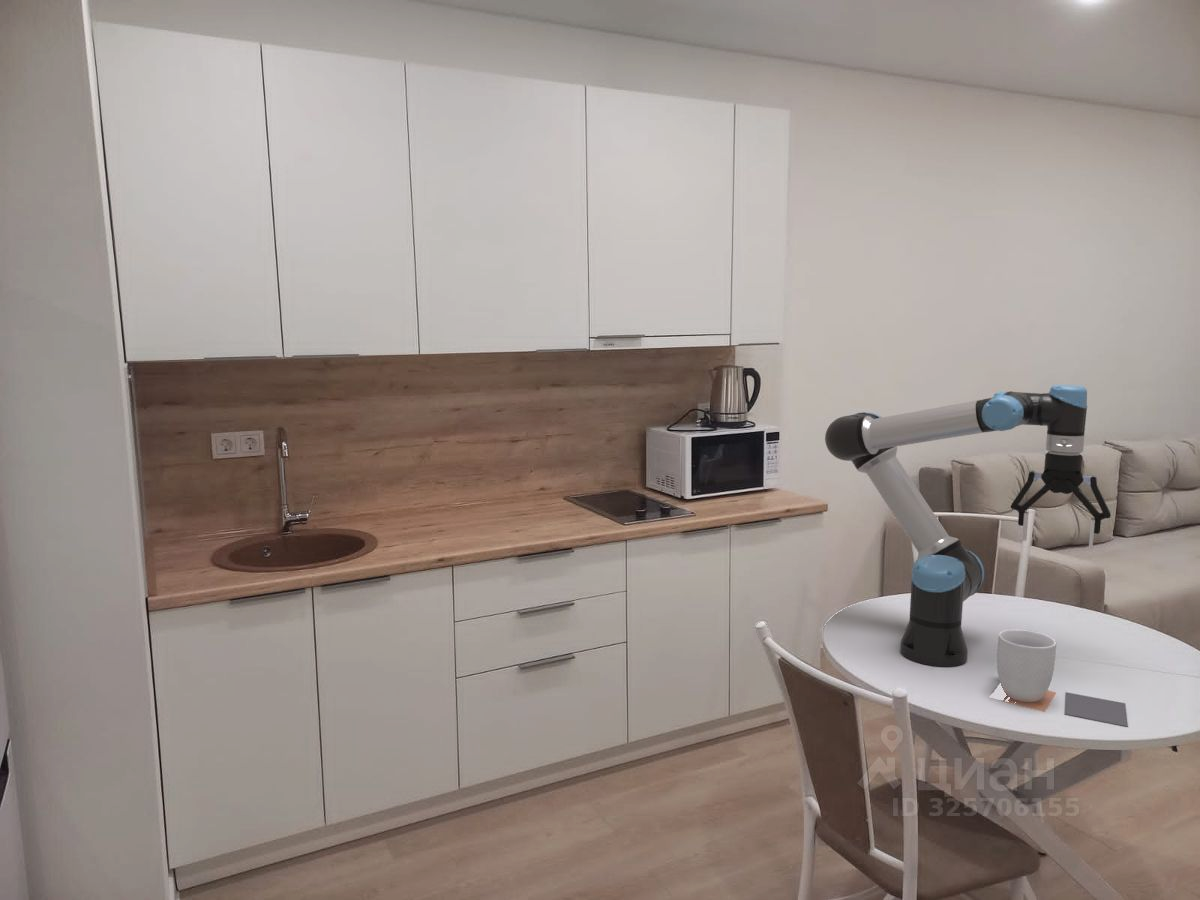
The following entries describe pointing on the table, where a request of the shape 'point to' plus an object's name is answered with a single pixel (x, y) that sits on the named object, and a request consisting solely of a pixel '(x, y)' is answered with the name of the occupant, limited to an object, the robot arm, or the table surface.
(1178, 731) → the table surface
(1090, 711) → the charcoal mat
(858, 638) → the table surface
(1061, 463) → the robot arm
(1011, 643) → the mug
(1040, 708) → the terracotta tile
